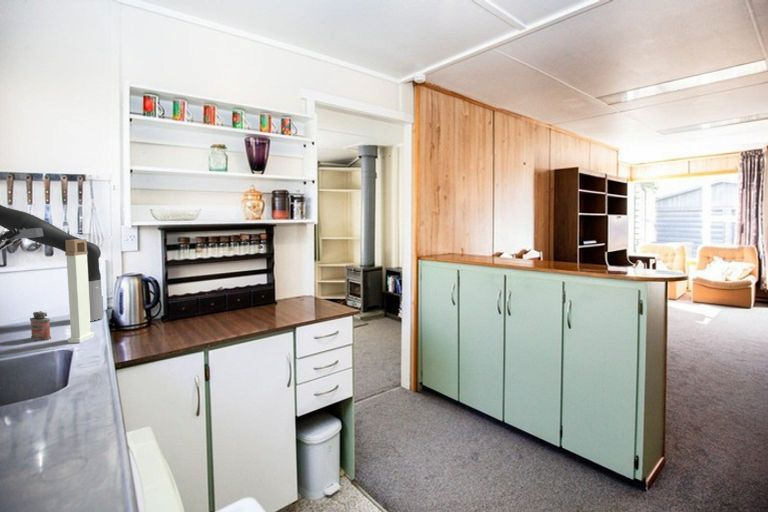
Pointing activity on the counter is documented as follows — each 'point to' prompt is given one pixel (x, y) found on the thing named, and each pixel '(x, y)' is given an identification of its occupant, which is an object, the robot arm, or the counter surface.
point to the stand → (78, 290)
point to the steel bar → (28, 233)
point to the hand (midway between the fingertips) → (20, 230)
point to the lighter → (40, 326)
